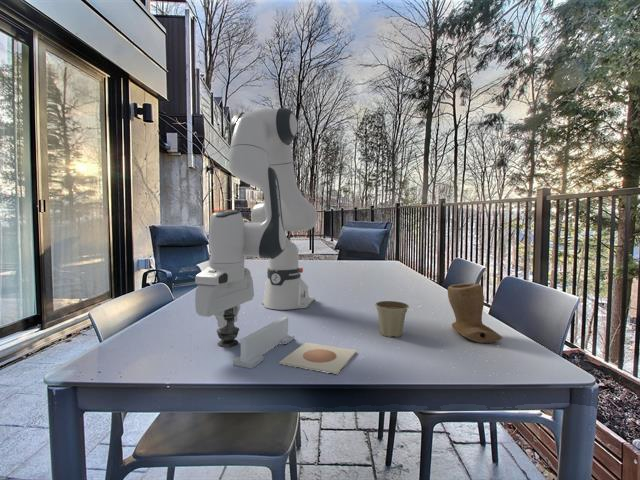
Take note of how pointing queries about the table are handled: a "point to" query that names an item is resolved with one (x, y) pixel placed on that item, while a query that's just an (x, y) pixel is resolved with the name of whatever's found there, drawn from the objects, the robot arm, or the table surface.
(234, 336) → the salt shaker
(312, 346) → the mat
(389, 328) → the flower pot
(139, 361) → the table surface
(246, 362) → the acrylic wall
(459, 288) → the brown boot
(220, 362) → the table surface
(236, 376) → the table surface
